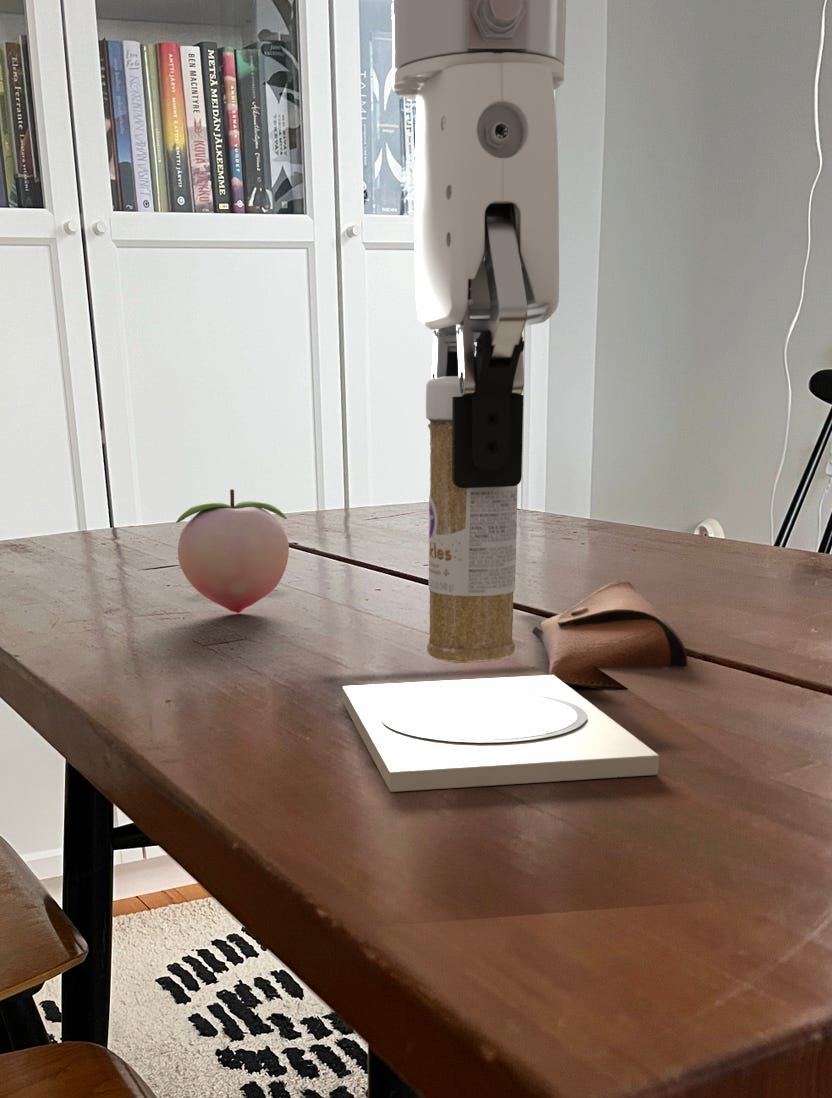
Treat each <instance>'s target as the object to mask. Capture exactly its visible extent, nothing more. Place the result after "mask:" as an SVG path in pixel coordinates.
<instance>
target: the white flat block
mask: <svg viewBox="0 0 832 1098" xmlns="http://www.w3.org/2000/svg"><path fill="white" fill-rule="evenodd" d="M341 688H342V689H341V693H342V695H341V697H342V703H343V706H344V708H345V709H346V711H347V713H348V715H349V716H350V718H351V720H352V723H353V724H354V726H355V728H356V730H357V732H358V733H359V736H360V737H361V739H362V741H363V743H364V745H365V747H366V749H367V750H368V753H369V754H370V756H371V758H372V760H373V762H374V765H376V767H377V770H378V772H379V773H380V776H381V777H382V779H383V781H384V783H385V784H386V786H387V789H388V790H389V792H390V793H400V792H416V791H429V790H445V789H447V790H448V789H461V788H462V789H463V788H479V787H493V786H494V787H495V786H509V785H523V784H524V785H525V784H538V783H540V784H541V783H554V782H570V781H584V780H585V781H586V780H601V779H618V777H619V778H633V777H649V776H658V775H659V765H660V755H659V754H658V753H656V752H655V751H654V750H653V749H651V748H650V747H649V746H648V745H647V744H645V743H644V742H643V741H641V740H640V739H638V738H637V737H636V736H635V735H633V734H632V733H631V732H629V731H628V730H626V729H625V728H624V727H623V726H621V725H620V724H619V723H618V722H616V721H615V720H613V719H612V718H611V717H610V716H608V715H607V714H606V713H605V712H603V711H602V710H600V709H599V708H597V706H595V705H594V704H592V702H590V701H589V700H587V698H585V697H584V696H582V695H581V694H579V693H578V692H577V691H576V690H575V689H573V688H572V687H570V685H567V684H565V683H564V682H562V681H561V680H560V679H558V678H557V677H556V676H555V675H549V674H545V675H544V674H541V675H525V676H508V677H506V676H505V677H489V678H488V677H487V678H486V677H485V678H470V679H469V678H468V679H467V678H466V679H449V680H433V681H432V680H431V681H414V682H397V683H396V682H395V683H378V684H376V683H375V684H360V685H359V684H358V685H357V684H356V685H343V686H342V687H341Z"/></svg>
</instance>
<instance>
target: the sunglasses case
mask: <svg viewBox="0 0 832 1098" xmlns="http://www.w3.org/2000/svg"><path fill="white" fill-rule="evenodd" d="M540 627H541V629H542V630H541V629H540V628H538V627H537V626H535V627H534V628H533V629H532V631H531V632H532V634H533V635H534V636H535V637H537V639H538V640H539V641H540V642H541V644H542V646H543V648H544V650H545V653H546V654H547V659H548V662H549V667H548V669H549V671H548V672H549V673H548V675H555V676H556V677H557V678H558V679H560V680H561V681H562V682H564V683H565V684H566V685H568V686H577V687H584V688H590V689H598V690H629V688H628V687H626V686H625V685H623V684H622V683H620V682H619V681H617V680H616V679H614V678H613V677H611V676H610V675H608V674H607V673H605V672H604V671H602V670H601V669H599V668H598V667H597V666H599V667H603V666H604V667H607V666H608V667H684V668H685V667H688V655H687V651H686V648H685V646H684V643H683V642H682V640H681V639H680V637H679V635H678V634H677V633H676V632H675V630H674V629H672V627H671V626H670V624H669V623H668V622H667V620H666V619H665V618H664V616H662V614H661V613H660V612H659V611H658V610H657V609H656V608H655V607H654V605H652V603H650V602H649V600H647V599H646V598H645V597H644V596H642V595H641V594H640V592H638V591H637V590H636V588H635V587H634V586H633V584H632V583H631V582H630V581H628V580H627V579H618V580H615V581H612V582H610V583H608V584H605V585H604V586H602V587H601V588H599V589H597V590H595V591H594V592H592V593H591V594H589V595H588V596H587V597H585V598H583V599H582V600H581V601H579V602H578V603H577V604H575V605H574V606H571V607H569V608H568V609H567V610H565V611H563V612H561V613H559V614H556V615H554V616H551V617H549V618H547V619H545V620H543V621H542V622H541V623H540Z"/></svg>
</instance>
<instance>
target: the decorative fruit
mask: <svg viewBox="0 0 832 1098" xmlns="http://www.w3.org/2000/svg"><path fill="white" fill-rule="evenodd" d="M229 497H230V501H229V502H230V504H227V503H224V502H206V503H201V504H197V505H194V506H192V507H190V508H188V509H186V511H184V512H183V513H182V514H181V515H179V517H178V518H177V520H176V524H178V523H180V522H182V521H184V520H185V519H186V518H188V517H190V516H192V517H190V519H189V520H188V521H187V522H186V524H184V527H183V528H182V529H181V533H180V535H179V539H178V544H177V559H178V563H179V567H180V569H181V571H182V573H183V575H184V576H185V578H186V580H187V581H188V582H189V584H190V585H191V586H192V587H193V588H194V589H195V590H196V591H197V592H198V593H199V594H201V596H203V597H204V598H206V599H208V600H209V601H210V602H212V603H215V604H217V605H218V606H220V607H222V608H224V609H227V610H229V611H230V612H234V613H237V614H240V613H241V612H242V611H244V610H245V609H246V608H249V607H252V606H253V605H254V604H256V603H258V602H259V601H260V600H262V599H264V598H265V597H267V596H268V595H270V594H271V592H273V591H274V590H275V589H276V588H277V586H278V585H279V583H280V582H281V580H282V577H283V576H284V573H285V571H286V568H287V565H288V560H289V553H290V543H289V537H288V533H287V532H286V530H285V528H284V526H283V525H282V524H281V523H280V522H279V520H278V519H277V518H276V517H275V516H274V515H273V514H275V515H277V516H278V517H280V518H282V519H285V520H287V519H288V518H287V517H286V516H285V514H284V513H283V511H282V510H280V509H279V508H278V507H276V506H274V505H273V504H269V503H266V502H262V501H256V500H248V501H247V500H246V501H241V502H238V503H237V504H235V489H234V488H233V489H232V488H231V489H230V490H229ZM270 512H271V513H270ZM272 513H273V514H272Z"/></svg>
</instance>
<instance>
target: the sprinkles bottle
mask: <svg viewBox="0 0 832 1098" xmlns="http://www.w3.org/2000/svg"><path fill="white" fill-rule="evenodd" d="M521 395H523V393H522V394H521ZM452 397H461V395H460V389H459V376H447V377H440V378H432V377H431V378H430V379H428V380H427V381H426V386H425V418H426V419H427V420H428V421H429V423H428V425H427V428H428V429H429V446H430V448H429V449H430V453H429V463H430V465H429V483H430V484H429V496H428V591H429V603H428V604H429V610H428V611H429V612H428V613H429V630H428V631H429V636H428V637H429V638H428V641H427V644H426V651H427V654H428V655H429V656H431V657H432V658H433V659H436V660H438V661H444V662H448V663H454V664H471V663H487V662H494V661H496V662H497V661H500V660H505V659H507V658H509V657H511V656H512V655H514V652H515V651H516V644H515V642H514V640H513V623H514V592H515V591H516V570H517V569H516V568H517V534H518V532H517V530H518V528H517V527H518V485H516V486H507V487H479V488H459V487H457V486H455V485H454V483H453V481H452Z"/></svg>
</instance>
